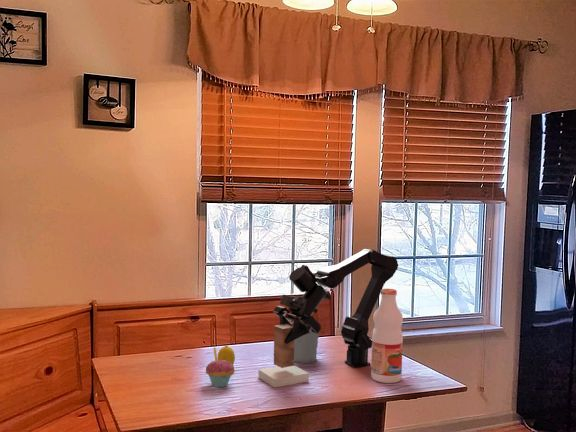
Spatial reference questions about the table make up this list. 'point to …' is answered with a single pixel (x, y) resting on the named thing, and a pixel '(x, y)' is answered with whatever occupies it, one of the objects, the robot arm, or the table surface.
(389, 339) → the fruit juice
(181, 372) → the table surface
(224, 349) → the lemon
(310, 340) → the grey cup
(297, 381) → the plate
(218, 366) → the cupcake
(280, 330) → the brown wooden block
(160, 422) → the table surface
